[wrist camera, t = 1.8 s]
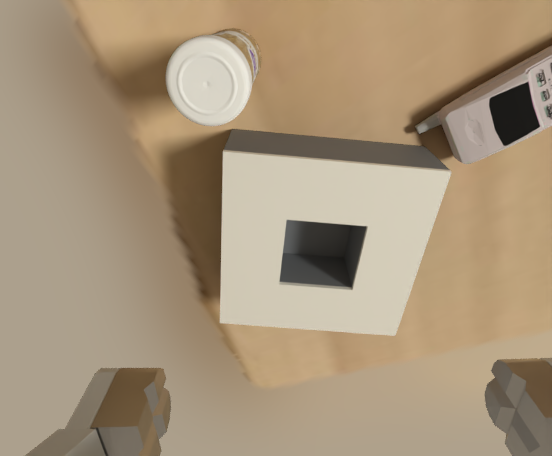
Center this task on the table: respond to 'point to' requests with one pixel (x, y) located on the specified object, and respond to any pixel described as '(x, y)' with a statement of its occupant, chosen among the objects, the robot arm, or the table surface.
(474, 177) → the table surface
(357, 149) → the socket block
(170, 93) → the sprinkles bottle
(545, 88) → the mobile phone
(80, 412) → the robot arm
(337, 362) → the table surface
